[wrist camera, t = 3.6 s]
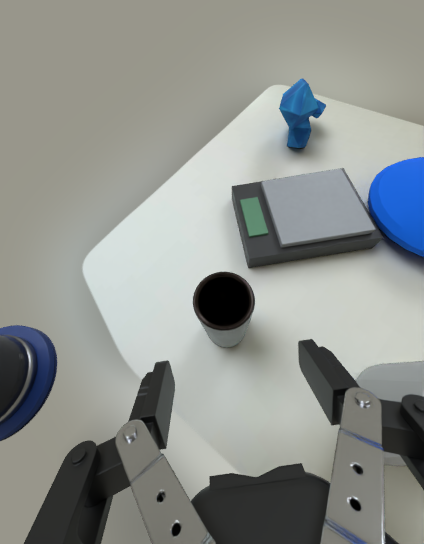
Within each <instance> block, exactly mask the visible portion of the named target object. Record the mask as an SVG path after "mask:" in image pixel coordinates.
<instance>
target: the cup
mask: <svg viewBox="0 0 424 544" xmlns="http://www.w3.org/2000/svg"><path fill="white" fill-rule="evenodd" d="M356 382H357V384H358V385H359V386H360V387H361V388H363V389H366V390H368V391H370V392H372V393H373V394H374V395H375V396H376V397H377V398H379V399H383V400H389V401H397V402H401V401H402V398H403V397H404V396H405V395H408V394H415V395H420V396H423V397H424V361H416V362H402V363H388V364H379V365H375V366H371V367H368V368H367V369H366V370H364V371H363V372H362V373H361V374H360V375H359V377H358V378H357V380H356ZM384 464H385V465H392V466H405V465H406V464H405V462H404V461H403V459H402V458H401V456H400V455H398V454H393V453H388V452H384Z"/></svg>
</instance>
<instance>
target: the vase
mask: <svg viewBox="0 0 424 544" xmlns="http://www.w3.org/2000/svg"><path fill="white" fill-rule="evenodd" d="M368 206H369V210H370V214H371V216H372V218H373V219H374V221H375V223H376V224H377V226H378V227H379V228H380V229H381V230H382V231H383V232H384V233H385V234H386V235H387V236H388V237H389V238H390V239H391V240H393V241H394V242H396V243H397V244H399V245H400V246H402V247H403V248H405V249H406V250H409V251H411V252H413V253H415V254H418V255H420V256H422V257H424V157H419V158H414V159H408V160H404V161H401V162H398V163H395V164H393V165H391V166H388V167H386V168H385V169H383V170H382V171H381V172H380V173H378V174H377V175H376V177H375V179H374V180H373V182H372V184H371V187H370V191H369V197H368Z"/></svg>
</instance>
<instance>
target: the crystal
mask: <svg viewBox="0 0 424 544" xmlns="http://www.w3.org/2000/svg"><path fill="white" fill-rule="evenodd" d="M325 107H326V105H325V104H324V103H322V102H320V101H319V100H317V99H315V98H314V96H313V94H312V91H311V89H310V87H309V84H308V83H307V82H306V81H305V80H304V79H300V80H299V81H298V82H297V83H296V84H294V85H293V86H292V87H291V88H290V89H289V90H287V91H286V92H285V93H284V94H283V97H282V100H281V104H280V108H279V109H280V111H281V113H282V115H283V117H284V119H285V120H286V122H287V124H288V126H289V135H288V143H287V146H288V147H295V148H304V147H306V145H307V142H308V139H309V136H310V132H311V127H310V122H309V117H310V116H313V117H315V118H318V117H319V116H320V115H321V114H322V112H323V111H324V109H325Z"/></svg>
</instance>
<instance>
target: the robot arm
mask: <svg viewBox="0 0 424 544" xmlns="http://www.w3.org/2000/svg"><path fill="white" fill-rule="evenodd" d="M298 347H299V365H300V368H301V371H302V373H303V375H304V377H305V378H306V380H307V382H308V384H309V385H310V387H311V389H312V391H313V393H314V394H315V396H316V398H317V400H318V402H319V403H320V405H321V407H322V409H323V411H324V412H325V414H326V416H327V418H328V420H329V421H330V423H331V425H338V424H339V425H340V428H339V432H338V438H337V444H336V451H335V457H334V464H333V470H332V477H331V483H329V482H328V481H326V480H325V479H323V478H321V477H319V476H317V475H314V474H311V473H307V472H305V471H304V468H303V466H302V463H300V464H293V465H286V466H279V467H277V468H275V469H273V470H271V471H269V472H267V473H265V474H263V475H261V476H259V477H251V476H245V475H239V474H234V473H230V474H223V475H216V476H210V485H209V486H208V487H206V488H204V489H203V490H201V491H200V492H199V493H198V494H197V495H196V496H195V497H194V498H193V499H192V501H190V499H189V498H188V496H187V494H186V493H185V491H184V489H183V487H182V486H181V484H180V482H179V480H178V478H177V477H176V475H175V473H174V471H173V470H172V468H171V466H170V464H169V463H168V461H167V459H166V457H165V456H164V454H161V452H160V449H166V446H167V439H168V432H169V426H170V418H171V412H172V405H173V399H174V392H175V382H174V377H173V374H172V370H171V366H170V363H169V361H162V362H156V363H155V366H154V370H153V372H149V373H147V374H146V376H145V377H144V378H143V380H142V382H141V385H140V389H139V391H138V395H137V397H136V400H135V403H134V406H133V409H132V413H131V415H130V418H129V421H128V423H126V424H125V425H124V426H123V427H122V428H121V429H120V430H119V431H118V433H117V435H116V437H114V438H112V439H110V440H108V441H106V442H104V443H102V444H100V445H98V446H96V444H95V443H94V442H93V441H85V442H82V443H80V444H78V445H77V446H75V447H74V448H73V449H72V450H71V451H70V452H69V453H68V454H67V456H66V457H65V459H64V461H63V463H62V465H61V467H60V469H59V471H58V473H57V475H56V478H55V480H54V482H53V484H52V486H51V488H50V490H49V492H48V494H47V496H46V498H45V501H44V503H43V505H42V507H41V509H40V511H39V513H38V515H37V517H36V520H35V522H34V524H33V526H32V528H31V530H30V532H29V534H28V536H27V538H26V540H25V542H24V544H101V541H102V537H103V533H104V529H105V525H106V521H107V517H108V513H109V510H110V506H111V502H112V498H113V495H114V494H116V493H118V492H120V491H122V490H123V489H125V488H127V487H129V486H131V489H132V492H133V494H134V497H135V500H136V502H137V505H138V508H139V510H140V513H141V516H142V518H143V521H144V524H145V526H146V529H147V532H148V534H149V537H150V540H151V542H152V544H398V543H397V542H396V541H395V540H394V539H393V538H392V537H391V536H390V535H388V534H387V533H386V532H385V506H384V452H388V453H393V454H398V455H400V456H401V458H402V459H403V461H404V462H405V464H406V465H407V466H408V468H409V469H410V471H411V472H412V474H413V475H414V477H415V478H416V479H417V481H418V482H419V484H420V485H421V487H422V488H423V489H424V397H423V396H420V395H415V394H408V395H405V396H404V397H403V398H402V401H401V402H397V401H389V400H383V399H379V398H377V397H376V396H375V395H374V394H373V393H372V392H370V391H368V390H366V389H363V388H361V387H360V386H359V385H358V384H357V382H356V381H355V380H354V379H353V378H352V376H351V375H350V374H349V373H348V371H347V370H346V369H345V368H344V367H343V366H342V364H341V363H340V362H339V360H337V358H336V357H335V356H334V354H333V353H332V352H331V351H329V350H328V349H326V348H325V347H318V346H317V345H316V343H315V342H314V341H313V340H312V339H309V340H303V341H299V343H298ZM36 374H37V356H36V352H35V350H34V348H33V346H32V345H31V344H30V343H29V342H28V341H27V340H25V339H23V338H21V337H17V336H11V335H0V424H2V423H4V422H5V421H6V420H8V419H9V418H10V417H11V416H12V415H13V414H14V413H15V412H16V411H17V410H18V409H19V408H20V407H21V405H22V404H23V403H24V401H25V400H26V398H27V397H28V395H29V393H30V391H31V389H32V387H33V384H34V382H35V378H36Z"/></svg>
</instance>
